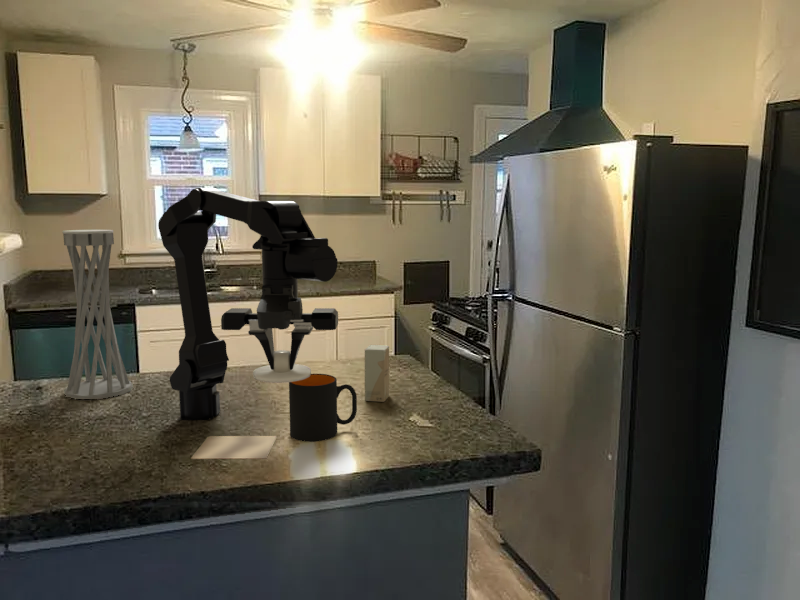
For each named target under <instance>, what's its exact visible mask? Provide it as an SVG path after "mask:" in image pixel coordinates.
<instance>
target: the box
mask: <svg viewBox="0 0 800 600" xmlns="http://www.w3.org/2000/svg"><path fill="white" fill-rule="evenodd" d="M389 397H390V346H389V345H380V344H370V345H368V346H367V347H366V348H365V349H364V401H366V402H379V403H381V402H382V403H383V402H386V400H388V399H389Z"/></svg>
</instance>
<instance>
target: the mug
mask: <svg viewBox="0 0 800 600" xmlns="http://www.w3.org/2000/svg"><path fill="white" fill-rule="evenodd" d="M337 380H338V379H337V378H336V376H334V375H331V374H326V373H311V375H310V377H308V378H306V379H303V380H299V381H294V382H288V399H289V400H288V401H289V403H288V404H289V436H290V437H291V439H293V440H296V441H299V442H306V443H307V442H308V443H309V442H311V443H313V442H314V443H315V442H322V441H327V440H331V439H333V438H334V437H336V436H337V435H338V424H339V425H348V424H350V423H352V422H353V420H354V419H355V418H356V415H357V411H358V409H357V408H358V401H357V400H358V398H357V397H358V396H357V392H356V390H355V388H354V387H353V386H352V385H350V384H347V383H346V384H342V385H337V383H338V382H337ZM345 389H346V390H348V391H349V392H350V394H351V403H352V404H351V406H352V409H351V414H350V416H349V417H348V418H347V419H341V418H340V416H339V414H338V398H339V395H340V393H341V392H342V391H343V390H345Z"/></svg>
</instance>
